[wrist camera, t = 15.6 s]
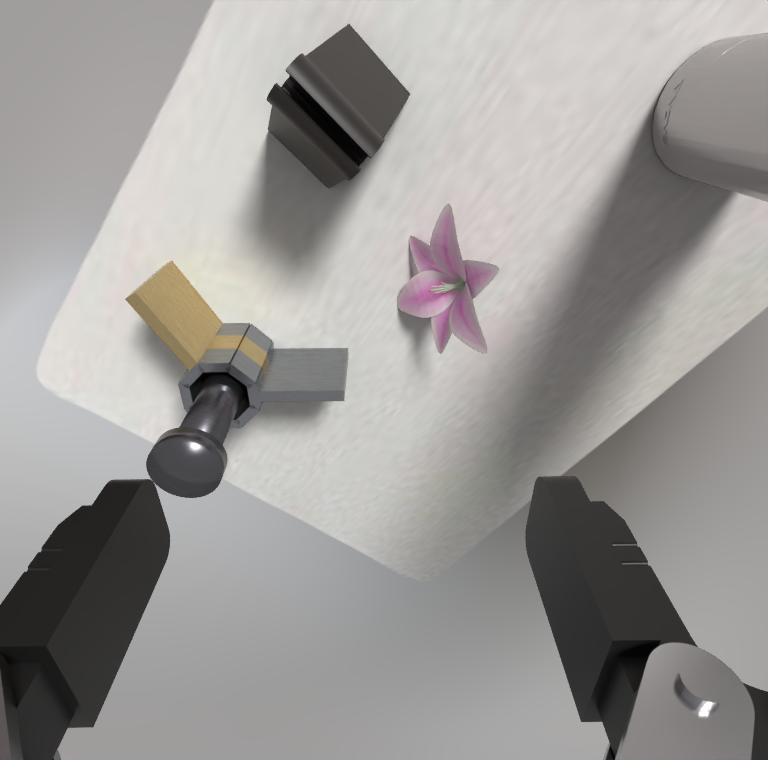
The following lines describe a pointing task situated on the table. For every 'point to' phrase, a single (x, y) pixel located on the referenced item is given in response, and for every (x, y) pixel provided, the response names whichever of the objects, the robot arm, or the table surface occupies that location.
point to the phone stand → (335, 106)
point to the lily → (446, 286)
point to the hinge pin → (198, 441)
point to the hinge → (233, 350)
